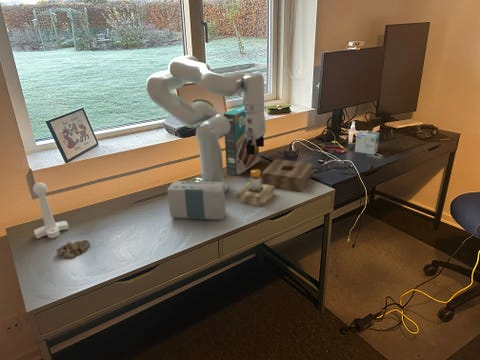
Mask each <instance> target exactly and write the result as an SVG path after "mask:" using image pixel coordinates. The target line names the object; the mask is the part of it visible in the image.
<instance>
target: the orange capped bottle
mask: <svg viewBox="0 0 480 360" xmlns="http://www.w3.org/2000/svg"><path fill="white" fill-rule="evenodd" d="M250 182H251V192H256V193H260V192H261V184H262V175H261V169H259V168H252V169H251V170H250Z"/></svg>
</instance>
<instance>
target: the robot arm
mask: <svg viewBox="0 0 480 360" xmlns="http://www.w3.org/2000/svg"><path fill="white" fill-rule="evenodd" d="M188 82H189V83H191V84H196V85H199V86H201V88H203V89H204V90H206V91H207V92H209V93H212V94H215V95H218V96H223V97H232V96H234V95H237V94H240V93H243V98H244V100H243V102H244V106H245V113H246V120H245V132H246V135H245V142H246V148H247V154H251V155H254V154H255V145H253V144H254V140H255V138H256V146H259V148H260V147H262V148H263V147H264V146H265V139H264V136H265V134H266V131H267V130H266V129H267V128H266V117H265V78H264V76H263V74H261V73H246V72H241V71H238V72H233V73H230V74H226V75H225V74H224V75H222V74H219V73H215V72H212V70H211V67H210V65H209V64H207V63H205V62H200V61H199V59H198V58H197V57H195V56H194V55H190V54H189V55H188V54H187V55H182V56H178V57H174V58H172V60H170V62H169V64H168V70H167V69H166V70H164V71H163V70H162V71H159V72H156V73H153V74H151V75H149V77H148V78H147V80H146V84H145V86H146V92H147V95H148V96H149V98H150V100H151V101H153V103H155V105H157V106H158V107H159V108H161V109H163V110H164V111H166V112H167V113H168V114H170V116H171V117H174V119H176V120H177V121H178V122H179V123H181V124H182V125H183V126H184V127H186V128H190V129H191V128H195V127H196V130H195V138H196V141H197V145H198V150H199V159H200V161H199V162H200V169H201V171H200V173H201V174H200V175H202V174H204V173H206V172H208V171H211V170H213V169H215V168H217V169H215V170H213V171H211V172H209V173H207V174H205V175H203V176H201V177H198V178H196V179H195V180H194V181H195V182H223V183H224V193H226V192H227V190H228V189H229V188H228V185H227V184H226V183H225V182H224V181H225V180H224V165H223V151H222V147H221V144H220V142H219V141H220V139H222V138H223V137H224V138H225V135H227V134H228V133H229V131H230V123H229V121H228V119H227V118H226V117H225V116H224V115H223V113H221V112H220V111H218V110H217V109H216V108H215V107H213V106H212V105H210V104H209V103H208V102H206V101H202V100H201V101H200V100H199V101H195V102H188V101H186V99H184V98H183V97H181V96H180V95H178V94H176V93H173V92H172V91H175V90H177V89H180V88H182V86H184V85H185V84H187V83H188ZM251 136H253V137H251ZM250 139H252V141H251V140H250ZM218 167H220V168H218Z"/></svg>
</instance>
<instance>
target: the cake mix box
mask: <svg viewBox="0 0 480 360" xmlns="http://www.w3.org/2000/svg"><path fill="white" fill-rule="evenodd" d="M222 115H224V116H225V117H226V118H227V119H228V121H229V123H230V131H229V133H228V134H227V135H225V136H224V149H225V164H226V165H225V167H226V174H227V175H231V176H235V177H237V176H240V175H241V174H242V173H244V172H246V170H249V168H251V167H252V166H254V165H255V164H257V163H258V162H260V147H259V146H256V138H255V140H254V144H253V145H255V154H254V155H251V154H247V148H246V142H245V135H246V132H245V120H246V113H245V106H244V105H241V106H238V107H236V108H233V109H231V110H228V111H226V112H224V113H222ZM251 137H253V136H251ZM250 140H251V141H252V139H250Z"/></svg>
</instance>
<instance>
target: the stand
mask: <svg viewBox="0 0 480 360" xmlns="http://www.w3.org/2000/svg"><path fill="white" fill-rule="evenodd" d="M273 196H275V188H274V186H272V185H266V184H262V183H261V192H260V193H256V192H251V181H247V183H246V184H245V185H244V186H243V187H242V188H240V190H239V191H237V193H236V201H237V203H241V204H247V205H254V206H258V207H265V206H266V205H268V202H269V201H271V199H272V198H273Z"/></svg>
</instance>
